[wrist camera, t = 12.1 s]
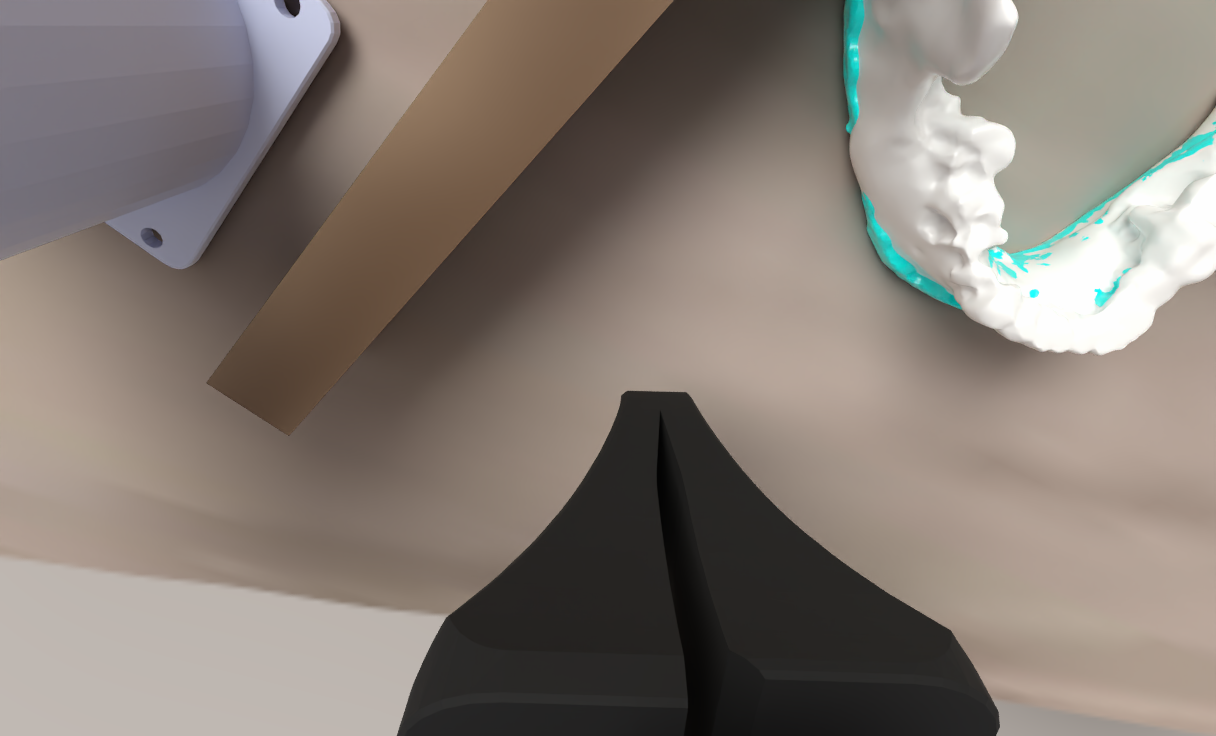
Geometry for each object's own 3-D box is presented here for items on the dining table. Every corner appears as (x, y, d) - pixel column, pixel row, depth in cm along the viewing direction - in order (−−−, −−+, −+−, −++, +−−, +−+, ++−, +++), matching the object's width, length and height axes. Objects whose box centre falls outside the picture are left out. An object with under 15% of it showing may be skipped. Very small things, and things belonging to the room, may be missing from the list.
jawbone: (725, 311, 15) (900, 336, 6) (773, -10, 14) (1074, -585, 5) (1177, 368, 15) (2053, 480, 6) (1257, 52, 14) (2454, -402, 5)
